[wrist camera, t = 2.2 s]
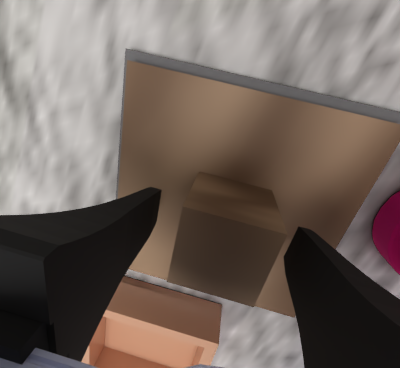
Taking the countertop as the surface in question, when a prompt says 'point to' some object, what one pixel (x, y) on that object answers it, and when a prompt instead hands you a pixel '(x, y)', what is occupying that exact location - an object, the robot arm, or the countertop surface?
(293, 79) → the countertop surface
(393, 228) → the pepper mill
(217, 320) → the dish
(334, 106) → the mat
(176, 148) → the lid
